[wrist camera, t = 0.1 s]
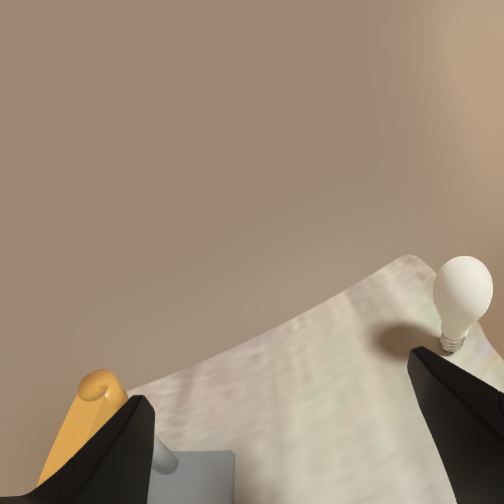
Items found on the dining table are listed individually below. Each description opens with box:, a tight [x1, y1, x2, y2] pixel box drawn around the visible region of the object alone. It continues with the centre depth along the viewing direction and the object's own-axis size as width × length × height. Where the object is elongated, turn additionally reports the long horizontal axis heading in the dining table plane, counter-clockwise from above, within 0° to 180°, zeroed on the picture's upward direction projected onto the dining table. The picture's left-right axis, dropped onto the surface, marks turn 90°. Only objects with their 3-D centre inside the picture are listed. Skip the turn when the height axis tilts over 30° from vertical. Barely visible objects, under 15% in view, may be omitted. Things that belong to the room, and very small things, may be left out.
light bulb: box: [433, 256, 493, 352], centre depth 23 cm, size 7×7×11 cm
